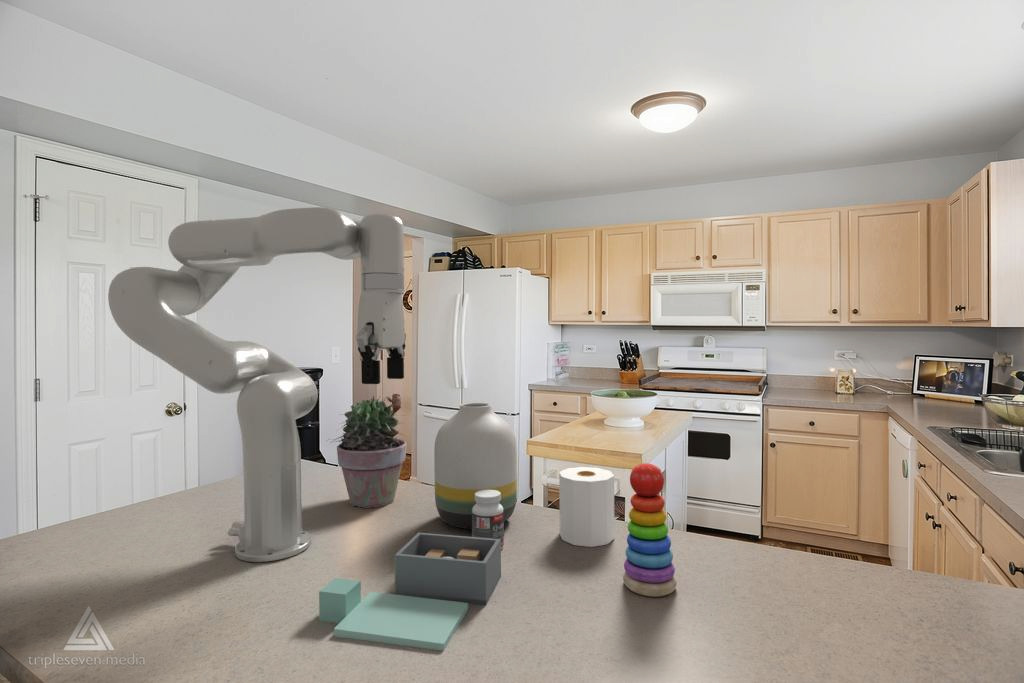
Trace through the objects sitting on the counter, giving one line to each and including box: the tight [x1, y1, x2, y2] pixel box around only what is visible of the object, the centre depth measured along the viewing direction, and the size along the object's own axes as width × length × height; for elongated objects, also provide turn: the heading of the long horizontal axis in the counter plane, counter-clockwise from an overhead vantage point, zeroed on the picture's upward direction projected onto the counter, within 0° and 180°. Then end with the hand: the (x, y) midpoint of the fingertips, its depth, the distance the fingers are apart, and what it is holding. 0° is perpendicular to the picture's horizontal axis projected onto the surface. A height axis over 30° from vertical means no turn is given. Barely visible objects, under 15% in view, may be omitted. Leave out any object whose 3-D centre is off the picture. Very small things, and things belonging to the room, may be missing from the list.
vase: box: [433, 402, 518, 530], centre depth 110 cm, size 17×17×24 cm
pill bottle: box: [471, 490, 505, 550], centre depth 97 cm, size 6×6×10 cm
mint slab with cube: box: [318, 577, 469, 652], centre depth 73 cm, size 19×10×4 cm, turn 77°
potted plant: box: [327, 393, 407, 509], centre depth 123 cm, size 18×20×25 cm
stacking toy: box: [622, 462, 677, 598], centre depth 82 cm, size 8×8×19 cm
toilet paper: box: [558, 466, 615, 548], centre depth 102 cm, size 10×10×12 cm
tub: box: [394, 532, 502, 606], centre depth 82 cm, size 14×9×6 cm, turn 77°
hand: (383, 381), depth 96 cm, fingers open, 9 cm apart
